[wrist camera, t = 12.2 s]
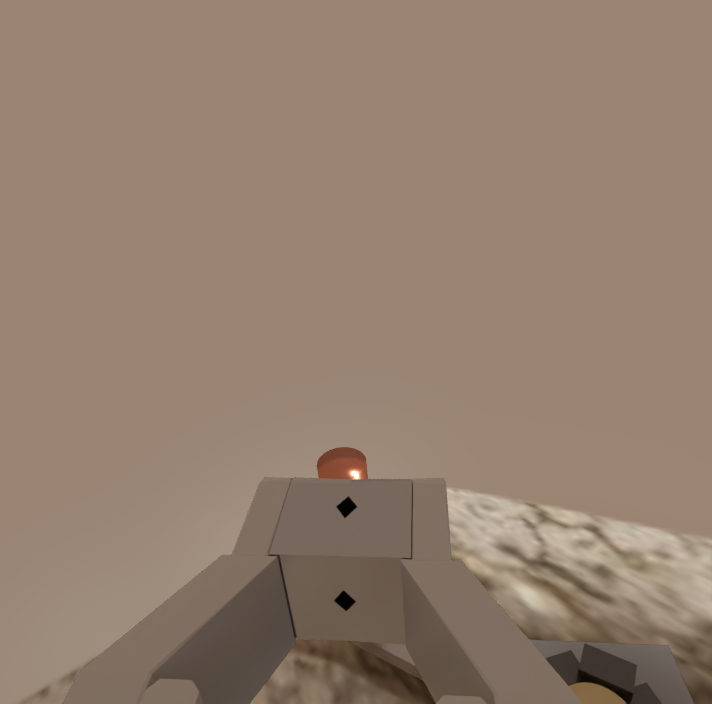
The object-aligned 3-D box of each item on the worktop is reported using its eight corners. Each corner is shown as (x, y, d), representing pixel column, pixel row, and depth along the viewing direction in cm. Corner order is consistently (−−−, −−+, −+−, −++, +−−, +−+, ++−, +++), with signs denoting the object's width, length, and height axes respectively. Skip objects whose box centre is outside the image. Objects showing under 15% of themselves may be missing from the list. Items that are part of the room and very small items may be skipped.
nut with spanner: (684, 721, 31) (758, 525, 23) (675, 903, 24) (773, 711, 17) (375, 582, 41) (359, 415, 34) (310, 684, 34) (273, 505, 27)
